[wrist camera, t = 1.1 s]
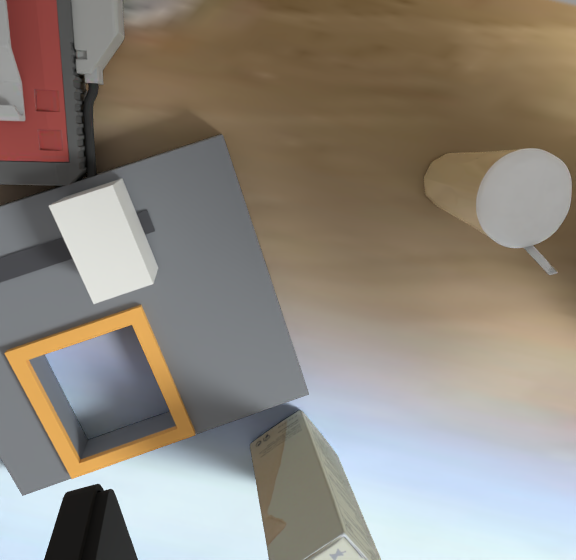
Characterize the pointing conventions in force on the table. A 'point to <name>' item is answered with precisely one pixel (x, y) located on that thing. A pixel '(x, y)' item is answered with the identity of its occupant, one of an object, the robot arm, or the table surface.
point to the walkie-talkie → (52, 86)
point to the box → (307, 496)
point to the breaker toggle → (106, 240)
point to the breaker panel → (141, 317)
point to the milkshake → (504, 195)
